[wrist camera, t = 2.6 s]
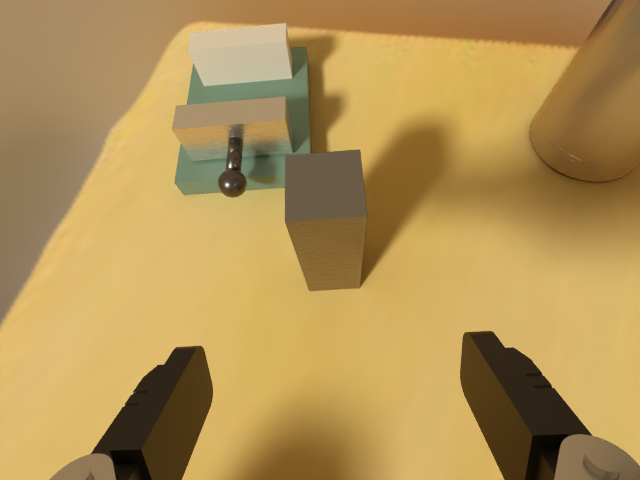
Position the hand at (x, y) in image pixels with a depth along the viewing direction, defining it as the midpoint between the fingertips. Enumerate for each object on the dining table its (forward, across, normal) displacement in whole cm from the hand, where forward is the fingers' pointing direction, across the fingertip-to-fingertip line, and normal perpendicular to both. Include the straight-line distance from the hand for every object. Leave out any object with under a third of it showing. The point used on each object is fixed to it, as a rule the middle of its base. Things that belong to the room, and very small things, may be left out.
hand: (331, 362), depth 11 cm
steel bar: (+17, 0, +5) cm, 18 cm away
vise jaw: (+22, +7, -3) cm, 23 cm away
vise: (+29, +7, -6) cm, 30 cm away
